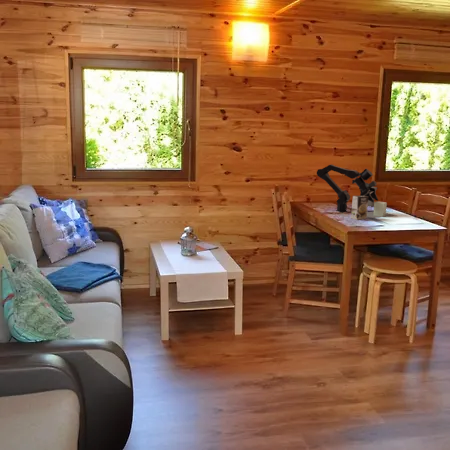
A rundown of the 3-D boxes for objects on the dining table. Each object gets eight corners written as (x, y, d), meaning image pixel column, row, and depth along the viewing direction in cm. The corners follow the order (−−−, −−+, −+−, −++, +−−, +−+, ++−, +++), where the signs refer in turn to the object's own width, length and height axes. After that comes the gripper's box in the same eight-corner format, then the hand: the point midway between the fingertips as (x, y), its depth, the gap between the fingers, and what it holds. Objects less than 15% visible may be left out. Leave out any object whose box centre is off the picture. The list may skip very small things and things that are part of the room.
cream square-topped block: (382, 216, 373) (383, 203, 371) (373, 215, 377) (374, 202, 375) (385, 215, 379) (386, 202, 377) (376, 214, 382) (377, 201, 380)
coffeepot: (373, 204, 429) (375, 183, 426) (379, 206, 420) (381, 184, 417) (356, 204, 426) (357, 182, 422) (361, 206, 417) (363, 184, 413)
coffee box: (356, 220, 361) (358, 196, 358) (350, 218, 367) (352, 195, 363) (366, 219, 365) (368, 196, 362) (360, 217, 371) (362, 195, 368)
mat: (372, 218, 368) (372, 217, 367) (354, 213, 385) (354, 212, 385) (398, 216, 378) (398, 216, 378) (379, 212, 396) (379, 211, 395)
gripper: (365, 178, 370) (379, 195, 366) (374, 176, 385) (388, 192, 381) (354, 188, 376) (368, 205, 372) (363, 186, 391) (376, 202, 387)
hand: (375, 201), depth 378 cm, fingers open, 9 cm apart
